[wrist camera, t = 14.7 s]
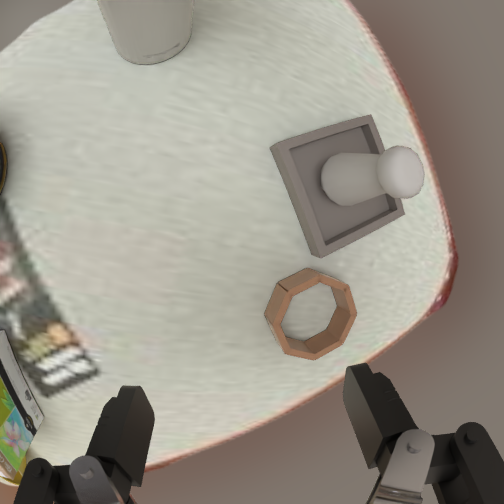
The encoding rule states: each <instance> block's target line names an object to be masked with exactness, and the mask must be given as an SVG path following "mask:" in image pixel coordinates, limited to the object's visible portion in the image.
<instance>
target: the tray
mask: <svg viewBox="0 0 504 504" xmlns="http://www.w3.org/2000/svg"><path fill="white" fill-rule="evenodd" d="M270 150H271V152H272V154H273V157H274V159H275V162H276V164H277V166H278V169H279V171H280V174H281V176H282V179H283V181H284V184H285V186H286V189H287V191H288V194H289V196H290V199H291V201H292V204H293V206H294V209H295V211H296V214H297V217H298V219H299V222H300V224H301V227H302V230H303V232H304V235H305V238H306V241H307V243H308V246H309V249H310V251H311V254H312V255H314V256H316V257H319V258H323V257H325V256H327V255H329V254H331V253H332V252H334V251H336V250H338V249H340V248H342V247H344V246H346V245H348V244H350V243H352V242H354V241H356V240H358V239H360V238H362V237H363V236H365V235H367V234H369V233H371V232H373V231H375V230H377V229H379V228H381V227H382V226H384V225H386V224H388V223H390V222H392V221H394V220H395V219H397V218H399V217H401V216H403V215H405V213H404V209H403V205H402V202H401V198H393V197H391V196H390V195H389V194H387V193H385V194H382V195H379V196H376V197H374V198H371V199H368V200H366V201H363V202H360V203H357V204H355V205H352V206H341V205H338V204H337V203H335V202H334V201H332V200H330V199H329V198H328V196H327V195H326V193H325V192H324V190H323V189H322V188H321V170H322V167H323V165H324V164H325V163H326V162H327V160H328V159H329V158H330V157H332V156H334V155H336V154H339V153H363V154H380V155H381V154H382V153H383V151H385V149H384V146H383V143H382V141H381V138H380V135H379V133H378V130H377V128H376V125H375V123H374V120H373V118H372V115H367V116H363V117H359V118H356V119H352V120H348V121H345V122H341V123H338V124H335V125H331V126H328V127H324V128H321V129H318V130H315V131H312V132H308V133H305V134H302V135H299V136H296V137H293V138H290V139H287V140H284V141H281V142H279V143H276V144H275V145H273V146H272V147H270Z"/></svg>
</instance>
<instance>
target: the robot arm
mask: <svg viewBox="0 0 504 504" xmlns="http://www.w3.org/2000/svg"><path fill="white" fill-rule="evenodd" d="M97 2H98V5H99V7H100V10H101V12H102V15H103V17H104V20H105V22H106V25H107V27H108V30H109V32H110V35H111V37H112V40H113V42H114V44H115V47H116V49H117V51H118V53H119V54H120V56H121V57H123V58H124V59H125V60H127V61H129V62H132V63H136V64H154V63H158V62H162V61H165V60H167V59H169V58H171V57H173V56H174V55H176V54H177V53H179V52H180V51H181V50H182V49H183V48H184V47H185V46H186V44H187V43H188V41H189V39H190V37H191V30H192V16H193V6H194V0H97ZM343 401H344V405H345V408H346V410H347V413H348V415H349V418H350V421H351V423H352V426H353V429H354V431H355V434H356V437H357V439H358V442H359V444H360V447H361V450H362V453H363V455H364V458H365V461H366V463H367V466H368V469H371V468H374V467H378V470H379V472H380V474H379V476H378V478H377V480H376V483H375V485H374V487H373V489H372V491H371V493H370V495H369V498H368V500H367V502H366V504H422V501H423V499H422V498H421V493H422V489H423V486H424V484H432V486H433V489H434V492H435V494H436V497H437V500H438V503H439V504H504V461H503V459H502V458H501V456H500V454H499V452H498V450H497V449H496V447H495V445H494V443H493V442H492V440H491V438H490V436H489V435H488V433H487V431H486V430H485V428H484V427H483V426H482V425H480V424H478V423H475V422H468V423H465V424H463V425H461V426H460V427H459V428H458V430H457V431H456V433H450V434H442V435H430V434H429V433H428V432H426V431H424V430H421V429H419V428H418V427H417V426H416V424H415V423H414V421H413V419H412V417H411V415H410V414H409V412H408V410H407V408H406V407H405V405H404V403H403V401H402V400H401V398H400V397H399V394H398V393H397V391H395V388H394V386H393V384H392V383H391V381H390V379H388V378H387V377H386V376H384V375H383V374H382V373H380V372H379V373H375V374H373V373H372V371H371V369H370V368H369V366H368V364H367V363H362V364H357V365H353V366H348V367H347V368H346V374H345V381H344V389H343ZM100 416H101V418H99V421H98V425H97V426H96V428H95V431H94V434H93V436H92V439H91V442H90V444H89V447H88V450H87V452H86V454H85V456H81V457H78V458H76V459H75V460H74V461H73V462H72V463H71V465H62V466H52V465H51V464H50V463H49V462H48V461H47V460H45V459H43V458H35V459H33V460H31V461H30V462H29V463H28V464H27V466H26V468H25V471H24V473H23V476H22V479H21V482H20V485H19V488H18V491H17V494H16V497H15V500H14V504H53V501H54V504H137V502H136V501H135V499H134V498H133V496H132V494H131V493H130V489H131V486H137V487H141V484H142V479H143V474H144V469H145V464H146V459H147V454H148V450H149V445H150V440H151V436H152V431H153V427H154V421H155V417H154V412H153V409H152V407H151V405H150V403H149V401H148V399H147V397H146V395H145V393H144V391H143V389H142V387H141V386H122V387H121V388H120V391H119V393H118V396H117V397H112V398H111V399H110V400H109V401H108V402H107V403H106V405H105V406H104V408H103V410H102V413H101V415H100Z"/></svg>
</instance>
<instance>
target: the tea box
mask: <svg viewBox="0 0 504 504" xmlns="http://www.w3.org/2000/svg"><path fill="white" fill-rule="evenodd" d="M43 418H44V416H43V415H42V413H41V412H40V409H39V408H38V406H37V404H36V402H35V400H34V398H33V397H32V395H31V392H30V390H29V388H28V386H27V384H26V382H25V380H24V378H23V376H22V373H21V371H20V368H19V366H18V364H17V362H16V360H15V357H14V355H13V352H12V349H11V346H10V344H9V341H8V338H7V335H6V333H5V331H4V330H0V476H2V477H6V478H9V479H12V480H14V477H15V475H16V473H17V471H18V469H19V467H20V464H21V462H22V460H23V458H24V456H25V454H26V452H27V450H28V448H29V446H30V444H31V442H32V440H33V438H34V436H35V434H36V432H37V430H38V428H39V426H40V424H41V422H42V420H43Z"/></svg>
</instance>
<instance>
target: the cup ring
mask: <svg viewBox="0 0 504 504" xmlns="http://www.w3.org/2000/svg"><path fill="white" fill-rule="evenodd" d="M319 282H321V283H323V284H326V285H329V286H331V288H332V291H333V294H334V297H335V300H336V303H337V308H336V310H335V312H334V314H333V317H332V319H331V321H330V323H329V325H328V327H327V329H326V330H325V331H323V332H321V333H319V334H317V335H315V336H314V337H312V338H310V339H308V340H306V341H300V340H296V339H292V338H288V337H285V335H284V332H283V330H282V328H281V325H280V324H281V322H282V319H283V317H284V315H285V313H286V310H287V308H288V306H289V303H290V301H291V299H292V296H294V295H296V294H298V293H300V292H302V291H304V290H306V289H308V288H310V287H312V286H314V285H316V284H318V283H319ZM264 314H265V317H266V320H267V322H268V324H269V326H270V328H271V331H272V333H273V335H274V337H275V340H276V341H277V343H278V344H279V346H280V347H281V349H282V350H283V352H284V353H285V354H287V355H292V356H296V357H301V358H305V359H310V360H316V359H318V358H320V357H322V356H323V355H325V354H327V353H329V352H330V351H332V350H334V349H336V348H337V347H339V346H341V345H342V343H344V341H345V339H346V337H347V335H348V333H349V331H350V329H351V327H352V325H353V322H354V320H355V318H356V316H357V315H356V314H357V312H356V308H355V304H354V301H353V297H352V294H351V291H350V287H349V286H348V285H347V284H345V283H343V282H341V281H339V280H337V279H335V278H333V277H331V276H328V275H326V274H323V273H320V272H318V271H315V270H313V269H310V268H306V269H304V270H302V271H300V272H298V273H296V274H294V275H292V276H290V277H287V278H285V279H283V280H281V281H279V282H278V283H277V284H276V287H275V289H274V291H273V294H272V296H271V299H270V301H269V303H268V306H267V308H266V310H265V313H264Z"/></svg>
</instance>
